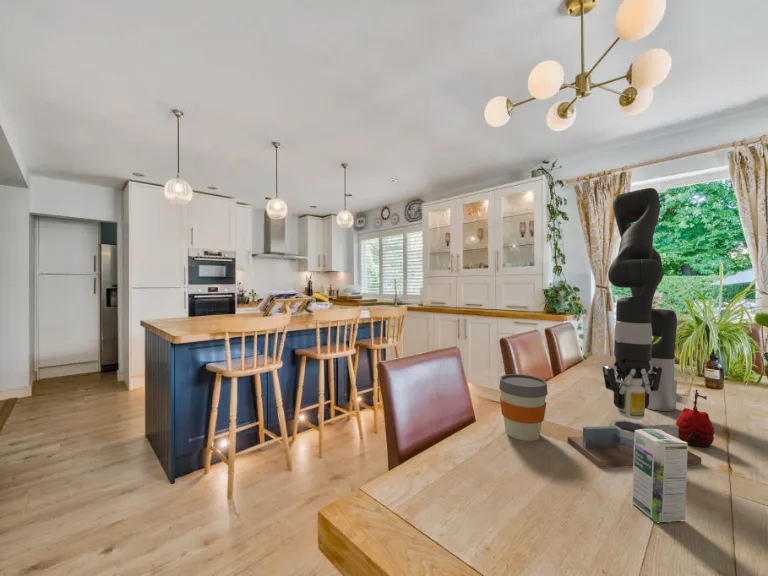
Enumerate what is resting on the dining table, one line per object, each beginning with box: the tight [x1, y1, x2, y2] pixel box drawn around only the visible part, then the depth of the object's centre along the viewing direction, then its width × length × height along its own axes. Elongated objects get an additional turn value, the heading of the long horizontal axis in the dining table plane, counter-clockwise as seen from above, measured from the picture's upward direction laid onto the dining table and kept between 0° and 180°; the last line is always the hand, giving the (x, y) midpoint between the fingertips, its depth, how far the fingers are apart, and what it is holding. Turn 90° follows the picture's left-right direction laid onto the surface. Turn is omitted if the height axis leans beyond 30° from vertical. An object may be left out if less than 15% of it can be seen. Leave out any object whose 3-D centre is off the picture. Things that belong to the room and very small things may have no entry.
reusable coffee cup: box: [499, 373, 549, 442], centre depth 95 cm, size 13×13×15 cm
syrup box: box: [631, 429, 689, 523], centre depth 63 cm, size 6×6×14 cm
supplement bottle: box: [617, 378, 646, 420], centre depth 85 cm, size 5×5×10 cm
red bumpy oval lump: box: [675, 389, 715, 448], centre depth 90 cm, size 8×7×15 cm
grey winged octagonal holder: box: [582, 419, 679, 455], centre depth 85 cm, size 24×8×5 cm, turn 94°
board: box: [567, 435, 702, 468], centre depth 85 cm, size 25×12×2 cm, turn 94°
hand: (631, 407), depth 85 cm, fingers closed on supplement bottle, 5 cm apart
